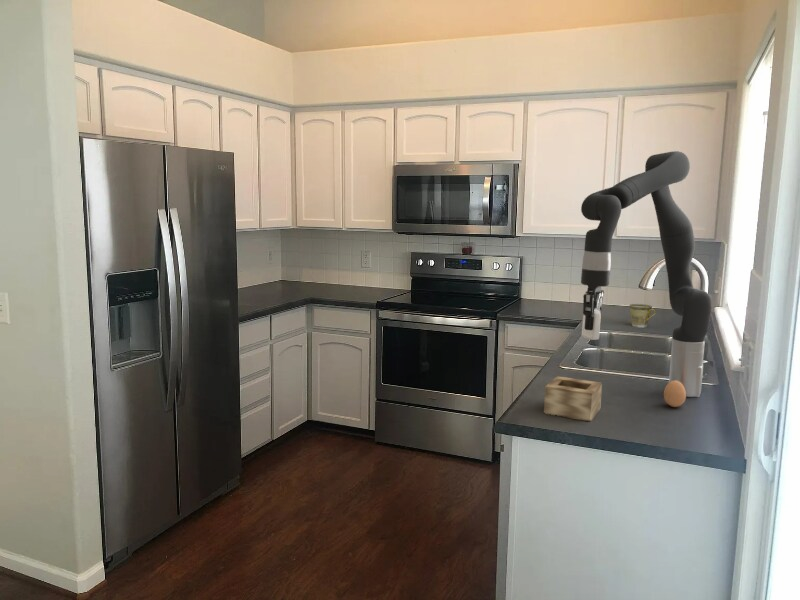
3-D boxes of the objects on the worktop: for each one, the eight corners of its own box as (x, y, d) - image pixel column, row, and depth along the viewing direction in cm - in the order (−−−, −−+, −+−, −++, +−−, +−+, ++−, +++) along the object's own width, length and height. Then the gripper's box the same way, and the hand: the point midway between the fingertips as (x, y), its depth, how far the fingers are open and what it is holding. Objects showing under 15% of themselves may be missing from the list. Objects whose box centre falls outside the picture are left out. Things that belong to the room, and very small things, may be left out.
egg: (659, 406, 190) (661, 380, 189) (666, 402, 195) (668, 376, 193) (681, 411, 186) (683, 384, 185) (687, 406, 191) (689, 380, 190)
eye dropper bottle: (583, 339, 179) (586, 296, 178) (581, 335, 185) (584, 294, 183) (599, 340, 179) (603, 297, 177) (596, 336, 184) (600, 295, 182)
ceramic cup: (623, 325, 310) (625, 304, 308) (636, 323, 316) (637, 303, 314) (648, 330, 300) (649, 308, 298) (660, 327, 305) (662, 306, 304)
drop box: (600, 409, 187) (602, 382, 186) (590, 421, 177) (591, 393, 176) (556, 402, 194) (557, 376, 192) (543, 413, 183) (545, 386, 182)
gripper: (604, 271, 171) (598, 334, 173) (615, 267, 183) (610, 326, 186) (575, 268, 174) (570, 330, 177) (588, 265, 187) (583, 323, 189)
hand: (591, 328), depth 181 cm, fingers closed on eye dropper bottle, 5 cm apart
